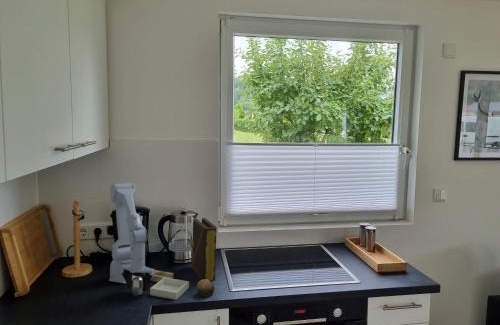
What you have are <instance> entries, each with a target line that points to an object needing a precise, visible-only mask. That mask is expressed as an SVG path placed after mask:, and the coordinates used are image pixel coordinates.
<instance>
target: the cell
mask: <svg viewBox="0 0 500 325" xmlns="http://www.w3.org/2000/svg"><path fill="white" fill-rule="evenodd" d="M142 294H143V279H142V276H138V275H137V277H134V278H133V280H132V295H133V296H140V295H142Z"/></svg>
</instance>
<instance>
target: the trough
mask: <svg viewBox="0 0 500 325" xmlns="http://www.w3.org/2000/svg"><path fill="white" fill-rule="evenodd" d="M143 275H145V273H143ZM163 278H170V279H174V272H169V271H162V270H156V269H154V274H153V276H152V278H151V280H150V282H156V283H158V282H159V281H160V280H162V279H163Z"/></svg>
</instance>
